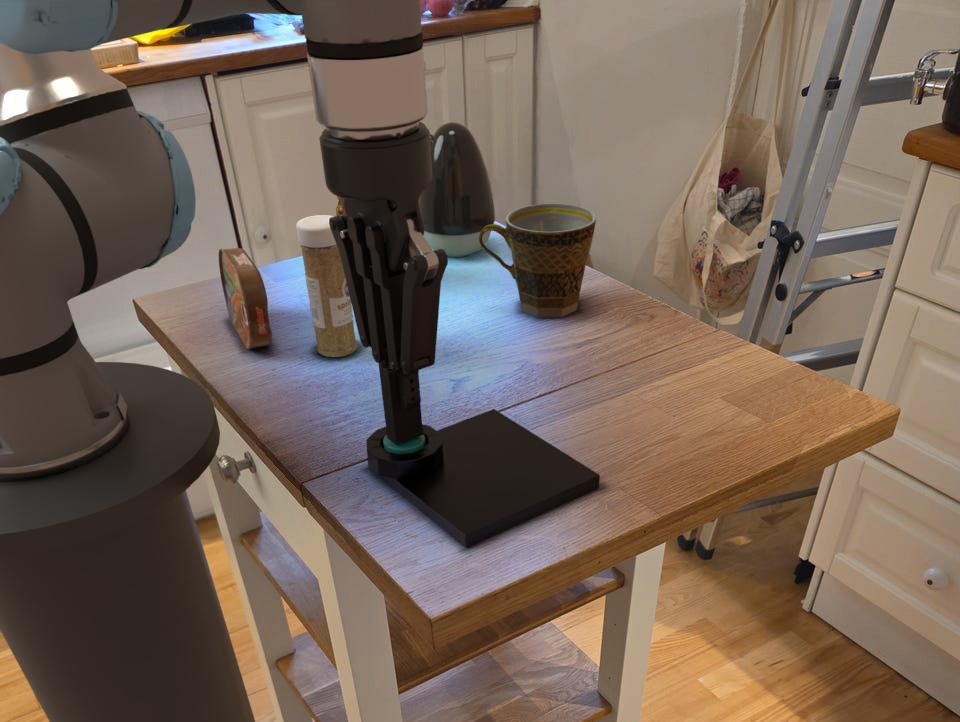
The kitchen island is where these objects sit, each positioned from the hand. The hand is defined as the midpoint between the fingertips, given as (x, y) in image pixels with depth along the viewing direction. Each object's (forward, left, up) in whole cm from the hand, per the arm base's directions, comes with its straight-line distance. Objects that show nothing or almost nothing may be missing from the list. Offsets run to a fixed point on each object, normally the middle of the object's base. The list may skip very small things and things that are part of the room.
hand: (405, 436), depth 75 cm
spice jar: (-26, +7, -4) cm, 27 cm away
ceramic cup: (-21, +31, -4) cm, 38 cm away
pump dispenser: (-43, +35, -4) cm, 56 cm away
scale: (+5, +4, -4) cm, 7 cm away
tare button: (0, 0, -2) cm, 2 cm away
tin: (-36, +2, -4) cm, 37 cm away
